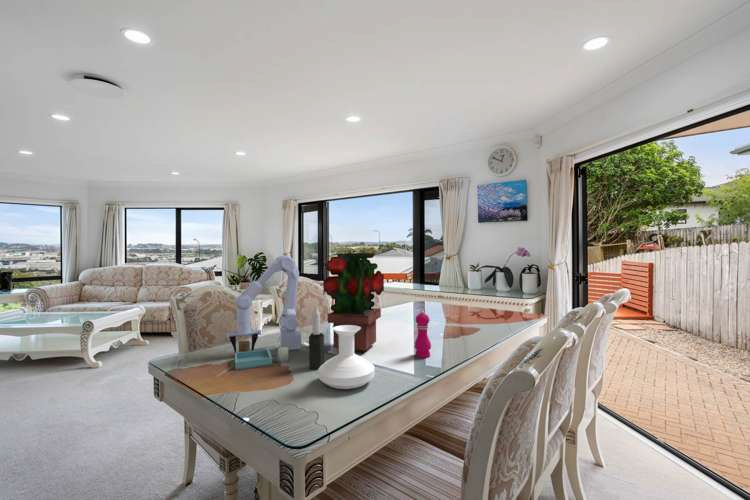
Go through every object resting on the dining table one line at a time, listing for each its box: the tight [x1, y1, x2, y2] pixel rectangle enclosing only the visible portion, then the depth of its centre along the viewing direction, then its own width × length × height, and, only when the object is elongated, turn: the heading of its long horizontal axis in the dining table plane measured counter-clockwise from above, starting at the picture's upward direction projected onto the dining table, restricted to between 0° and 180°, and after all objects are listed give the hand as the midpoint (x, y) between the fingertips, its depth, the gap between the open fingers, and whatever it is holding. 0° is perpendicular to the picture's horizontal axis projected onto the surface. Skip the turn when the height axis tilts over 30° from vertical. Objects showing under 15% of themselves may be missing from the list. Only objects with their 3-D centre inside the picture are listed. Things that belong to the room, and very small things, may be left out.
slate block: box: [264, 345, 276, 356], centre depth 158 cm, size 4×4×3 cm
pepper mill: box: [414, 309, 432, 359], centre depth 153 cm, size 7×7×20 cm
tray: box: [234, 348, 273, 371], centre depth 147 cm, size 14×14×3 cm
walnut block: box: [238, 340, 251, 352], centre depth 157 cm, size 4×4×6 cm
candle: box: [308, 304, 325, 371], centre depth 140 cm, size 5×5×25 cm
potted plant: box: [322, 252, 385, 354], centre depth 166 cm, size 22×22×45 cm
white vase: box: [317, 325, 376, 390], centre depth 124 cm, size 20×20×19 cm
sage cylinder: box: [277, 347, 289, 363], centre depth 150 cm, size 4×4×5 cm
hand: (244, 352), depth 157 cm, fingers open, 6 cm apart
